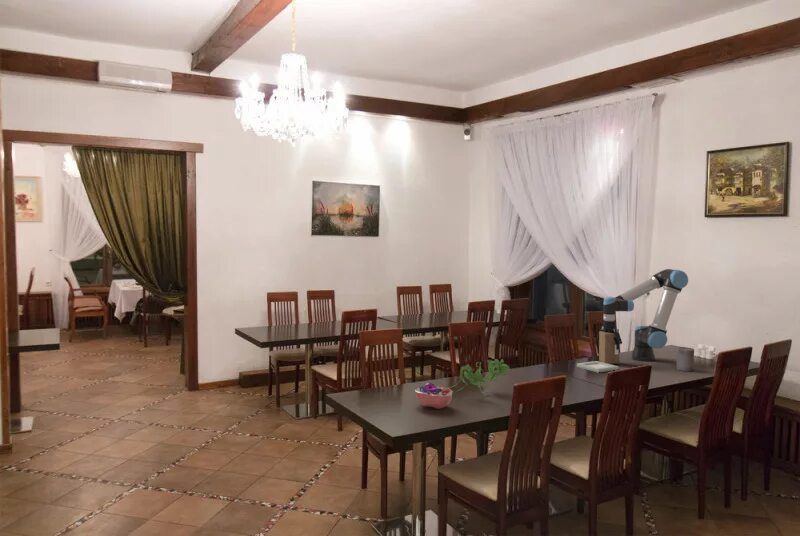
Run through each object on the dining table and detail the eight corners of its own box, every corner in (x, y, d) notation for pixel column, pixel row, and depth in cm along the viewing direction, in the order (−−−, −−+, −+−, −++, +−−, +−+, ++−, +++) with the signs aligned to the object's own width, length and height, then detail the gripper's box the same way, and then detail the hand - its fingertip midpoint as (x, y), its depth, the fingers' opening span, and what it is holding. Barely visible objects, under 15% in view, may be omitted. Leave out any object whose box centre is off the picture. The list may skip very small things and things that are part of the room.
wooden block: (619, 363, 384) (619, 333, 383) (604, 364, 383) (605, 333, 382) (613, 360, 394) (613, 331, 393) (598, 360, 393) (598, 331, 392)
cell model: (433, 415, 270) (433, 391, 269) (407, 405, 286) (408, 382, 286) (461, 409, 280) (461, 386, 279) (434, 399, 296) (434, 377, 296)
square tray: (596, 364, 385) (597, 361, 385) (618, 369, 369) (618, 366, 369) (576, 366, 377) (576, 363, 377) (598, 372, 361) (598, 369, 361)
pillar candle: (689, 368, 376) (690, 345, 375) (695, 371, 366) (696, 348, 366) (674, 368, 377) (674, 344, 376) (679, 371, 367) (680, 347, 367)
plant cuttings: (449, 411, 300) (475, 392, 286) (435, 380, 308) (460, 361, 293) (494, 399, 323) (520, 381, 309) (480, 371, 330) (505, 352, 316)
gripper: (591, 318, 396) (590, 349, 397) (620, 323, 374) (619, 356, 376) (599, 317, 400) (598, 348, 401) (628, 322, 378) (627, 355, 379)
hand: (608, 352), depth 388 cm, fingers closed on wooden block, 12 cm apart
